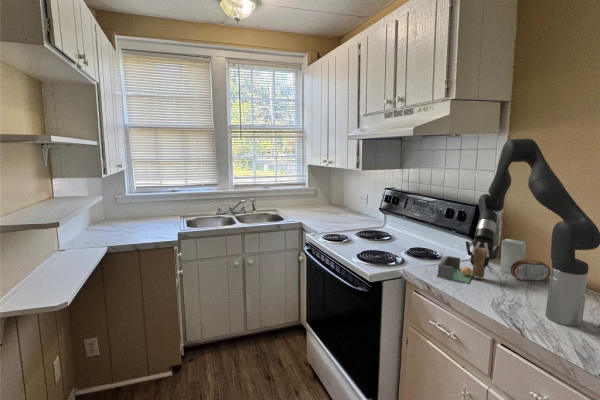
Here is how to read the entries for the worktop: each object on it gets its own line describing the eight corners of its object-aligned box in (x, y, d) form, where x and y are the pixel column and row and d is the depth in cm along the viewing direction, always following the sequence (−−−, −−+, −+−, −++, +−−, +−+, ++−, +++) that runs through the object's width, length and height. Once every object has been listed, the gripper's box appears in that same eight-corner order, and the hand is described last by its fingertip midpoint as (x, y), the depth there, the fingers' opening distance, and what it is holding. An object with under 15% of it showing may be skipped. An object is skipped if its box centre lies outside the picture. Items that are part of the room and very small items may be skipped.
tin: (545, 279, 144) (547, 260, 143) (550, 282, 141) (552, 263, 140) (508, 278, 146) (510, 259, 145) (512, 280, 143) (514, 262, 142)
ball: (471, 275, 148) (472, 266, 147) (469, 277, 144) (470, 269, 144) (461, 273, 150) (462, 264, 149) (459, 275, 147) (460, 267, 146)
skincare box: (524, 273, 151) (527, 241, 149) (518, 276, 147) (522, 244, 145) (504, 268, 158) (507, 237, 155) (498, 270, 154) (501, 239, 152)
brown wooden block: (484, 275, 145) (486, 248, 143) (482, 277, 142) (485, 250, 140) (474, 272, 147) (476, 246, 145) (472, 275, 144) (474, 249, 142)
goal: (474, 272, 152) (475, 260, 151) (468, 283, 139) (469, 271, 139) (444, 266, 160) (445, 255, 159) (436, 276, 147) (437, 264, 146)
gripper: (467, 225, 151) (459, 257, 144) (503, 229, 143) (497, 264, 135) (468, 233, 156) (461, 265, 149) (503, 238, 148) (497, 273, 140)
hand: (478, 265), depth 142 cm, fingers closed on brown wooden block, 4 cm apart
